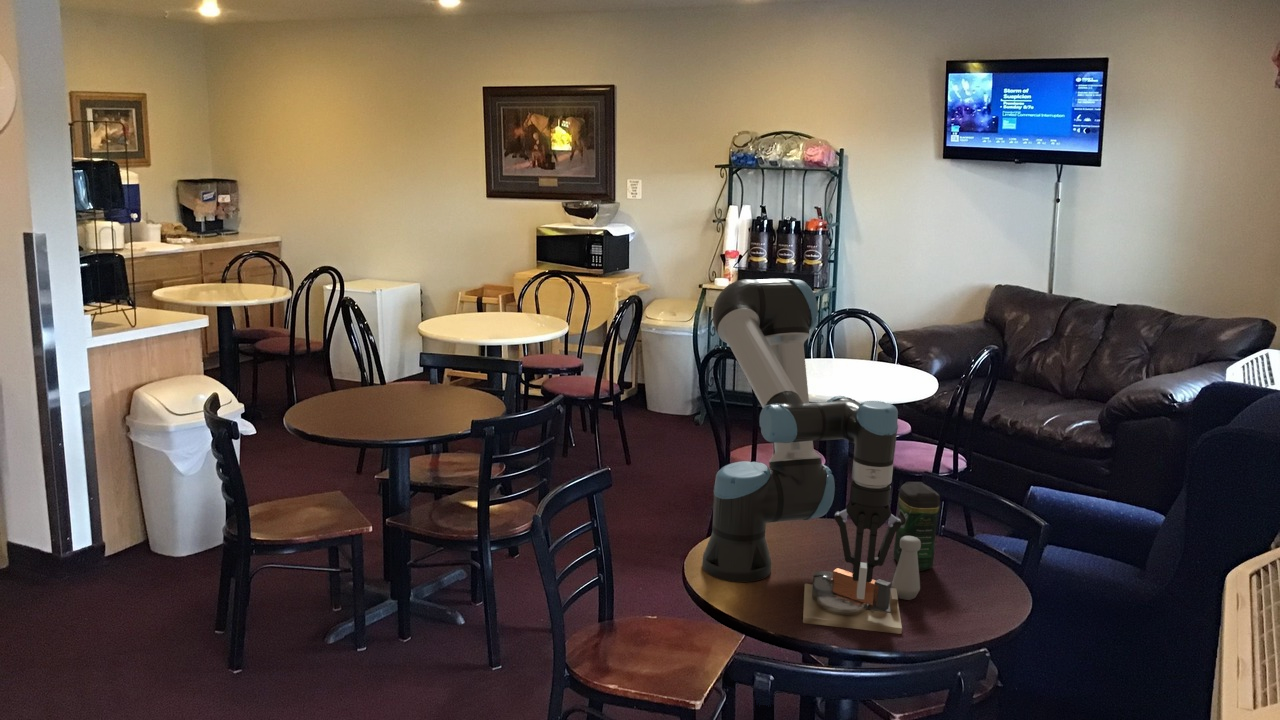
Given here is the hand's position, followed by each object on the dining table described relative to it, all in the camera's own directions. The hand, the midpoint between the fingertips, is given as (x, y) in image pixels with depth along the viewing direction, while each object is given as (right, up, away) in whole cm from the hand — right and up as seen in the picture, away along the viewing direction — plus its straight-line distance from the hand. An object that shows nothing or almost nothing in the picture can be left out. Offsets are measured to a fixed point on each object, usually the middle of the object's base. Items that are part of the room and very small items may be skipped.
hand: (860, 595), depth 206 cm
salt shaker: (+13, -3, +15) cm, 20 cm away
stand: (-1, -4, +7) cm, 8 cm away
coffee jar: (+19, 0, +32) cm, 37 cm away
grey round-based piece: (-1, -3, +5) cm, 6 cm away
